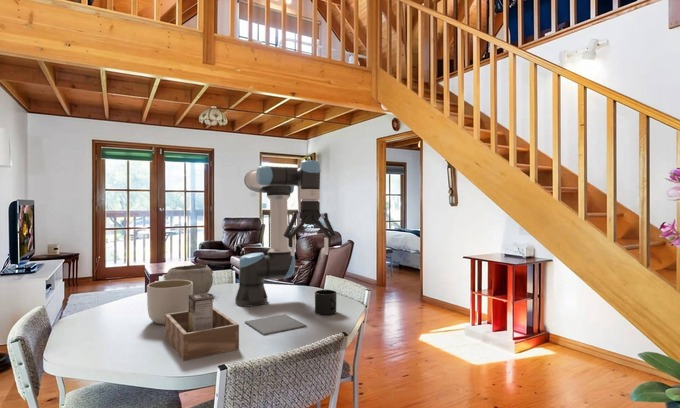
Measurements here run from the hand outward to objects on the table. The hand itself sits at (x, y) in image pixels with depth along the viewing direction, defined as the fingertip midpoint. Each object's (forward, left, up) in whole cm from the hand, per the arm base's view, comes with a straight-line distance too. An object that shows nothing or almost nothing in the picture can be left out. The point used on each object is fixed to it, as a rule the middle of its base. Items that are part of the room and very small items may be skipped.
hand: (309, 255), depth 154 cm
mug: (-12, +16, -28) cm, 34 cm away
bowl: (-78, -25, -28) cm, 86 cm away
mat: (-10, -10, -28) cm, 31 cm away
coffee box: (-6, -40, -28) cm, 49 cm away
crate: (-6, -40, -28) cm, 49 cm away
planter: (-38, -43, -28) cm, 64 cm away
